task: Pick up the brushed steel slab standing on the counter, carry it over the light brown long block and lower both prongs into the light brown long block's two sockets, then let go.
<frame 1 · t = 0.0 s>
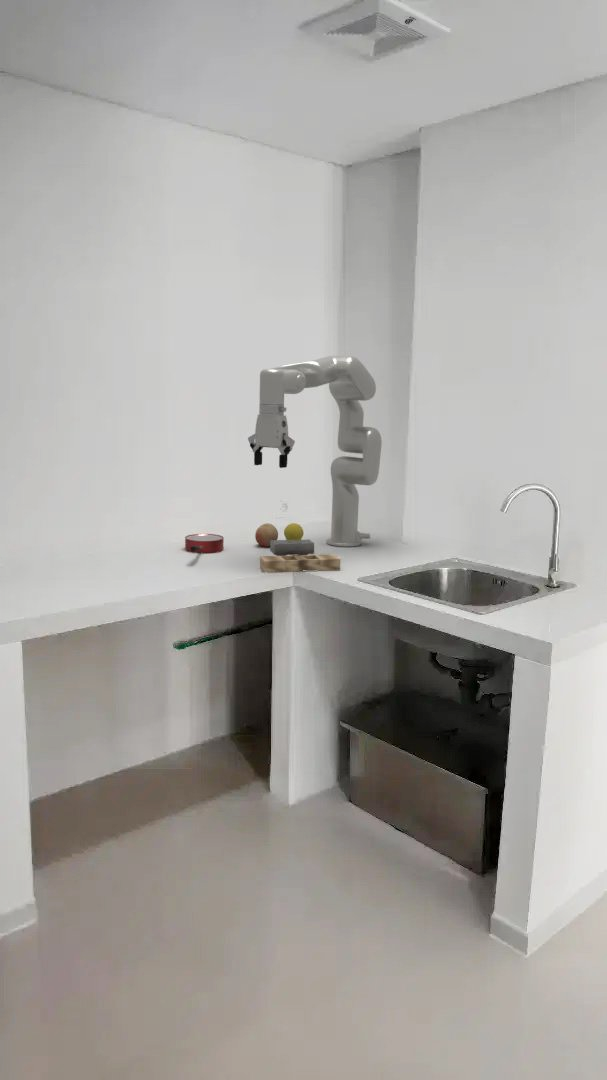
hand: (270, 466, 246), 31 cm above the worktop, tool pointing down, fingers open, 9 cm apart
light bulb: (293, 552, 272), on the worktop
fruit: (266, 546, 280), on the worktop
frying pan: (203, 556, 263), on the worktop
brushed steel slab: (291, 561, 257), on the worktop
light brown long block: (299, 568, 247), on the worktop
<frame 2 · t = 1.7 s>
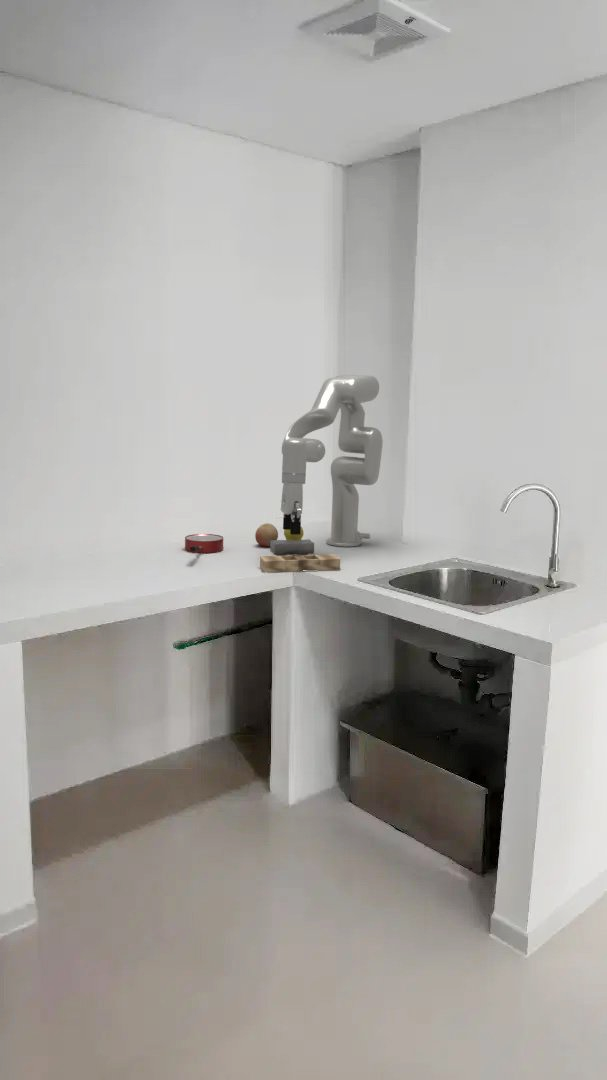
hand: (291, 531, 255), 10 cm above the worktop, tool pointing down, fingers open, 9 cm apart
nothing on the worktop moved.
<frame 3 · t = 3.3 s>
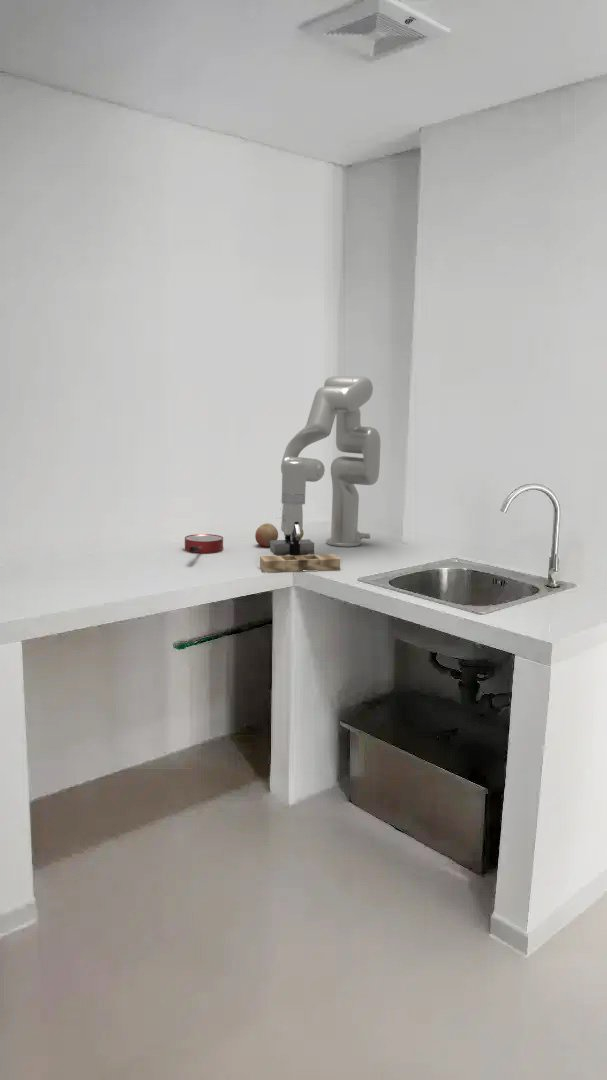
hand: (291, 553, 257), 3 cm above the worktop, tool pointing down, fingers closed on brushed steel slab, 6 cm apart
brushed steel slab: (291, 561, 257), on the worktop, touching gripper
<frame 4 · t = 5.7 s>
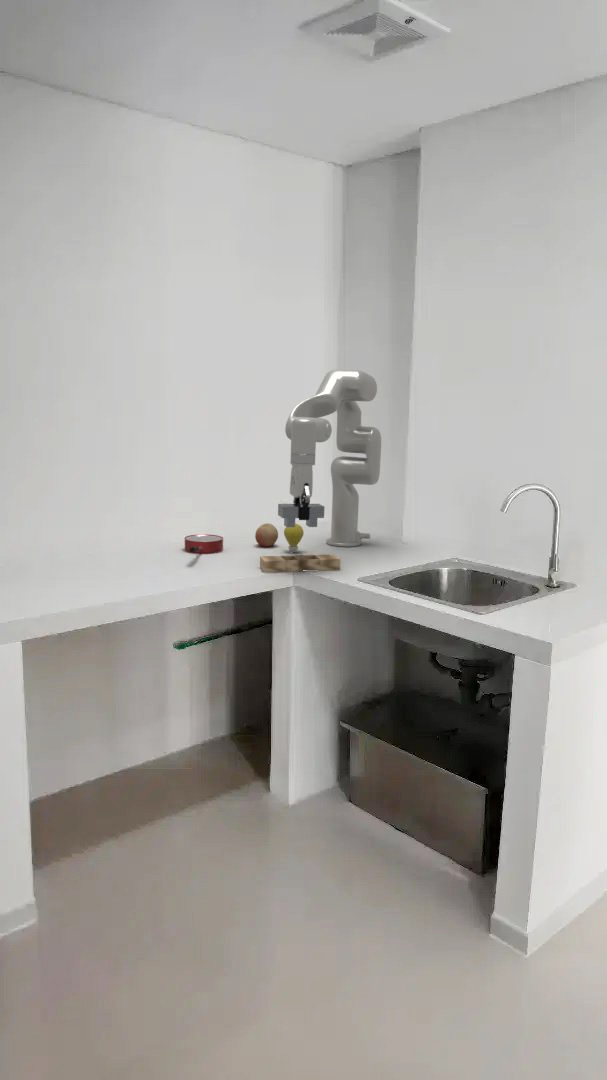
hand: (301, 517, 244), 16 cm above the worktop, tool pointing down, fingers closed on brushed steel slab, 6 cm apart
brushed steel slab: (300, 526, 245), point 14 cm above the worktop, touching gripper
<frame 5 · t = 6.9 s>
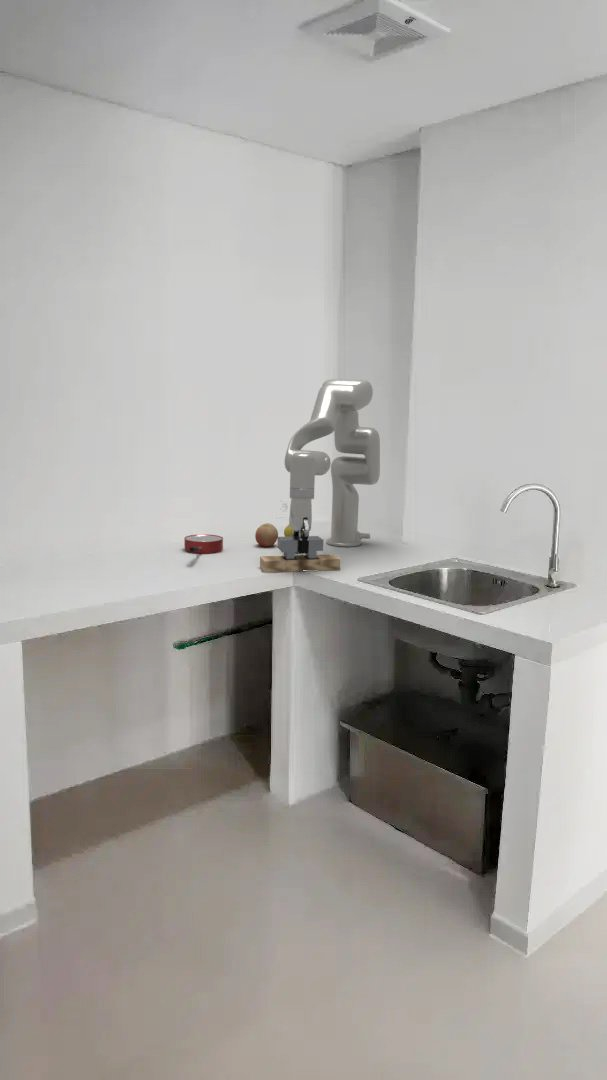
hand: (300, 550, 246), 6 cm above the worktop, tool pointing down, fingers closed on brushed steel slab, 6 cm apart
brushed steel slab: (299, 558, 247), point 3 cm above the worktop, touching gripper
when the fingers open (4 cm above the worktop, at t = 8.0 s): brushed steel slab drops 1 cm, resting on light brown long block.
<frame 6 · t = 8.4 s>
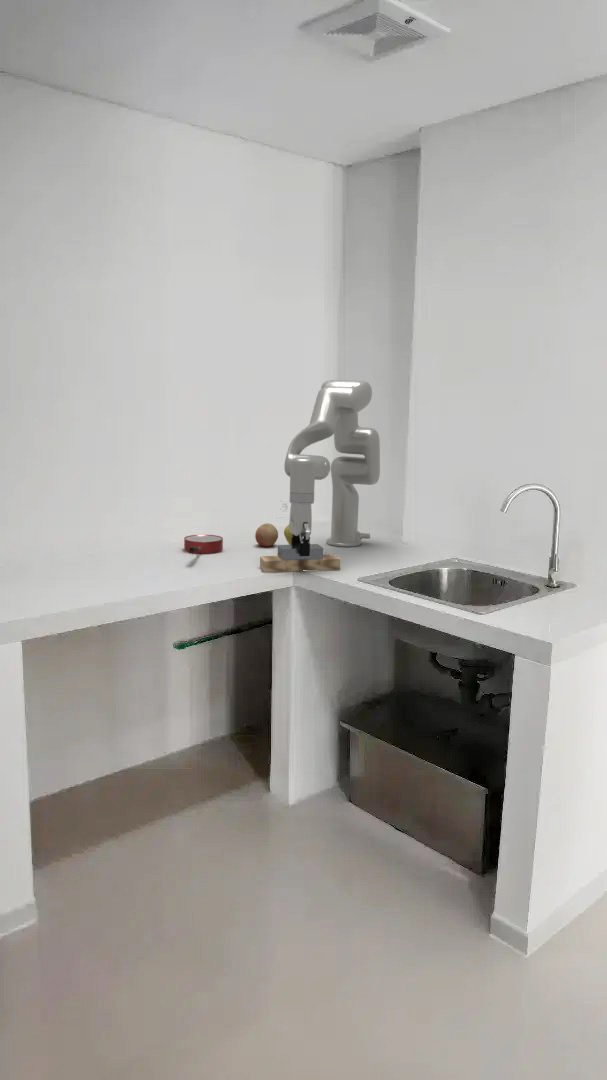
hand: (300, 552, 246), 5 cm above the worktop, tool pointing down, fingers open, 9 cm apart
brushed steel slab: (299, 567, 247), resting on light brown long block
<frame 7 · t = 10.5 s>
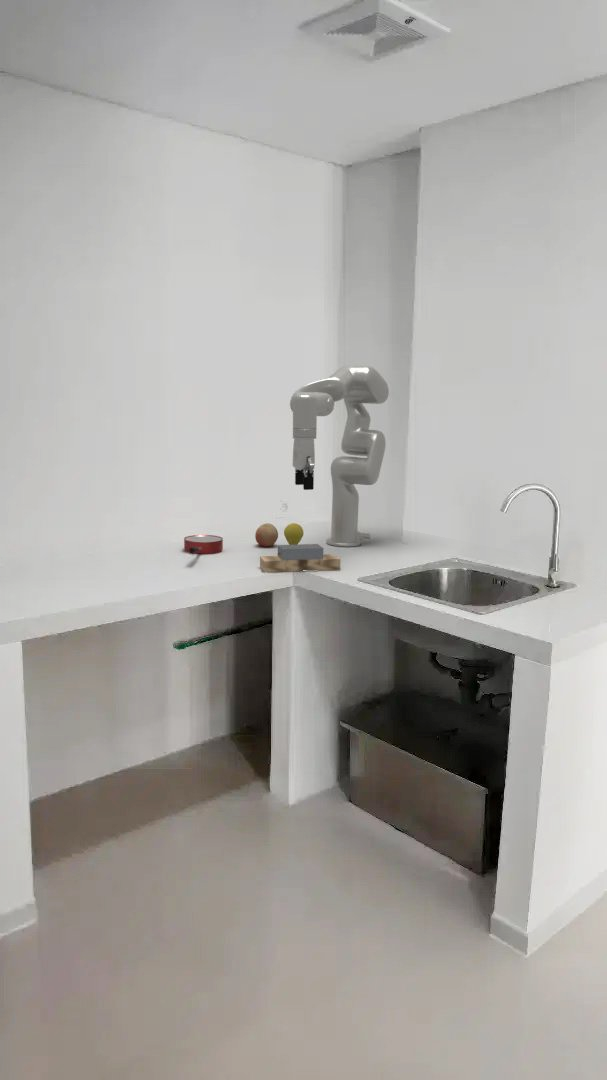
hand: (304, 487, 255), 24 cm above the worktop, tool pointing down, fingers open, 9 cm apart
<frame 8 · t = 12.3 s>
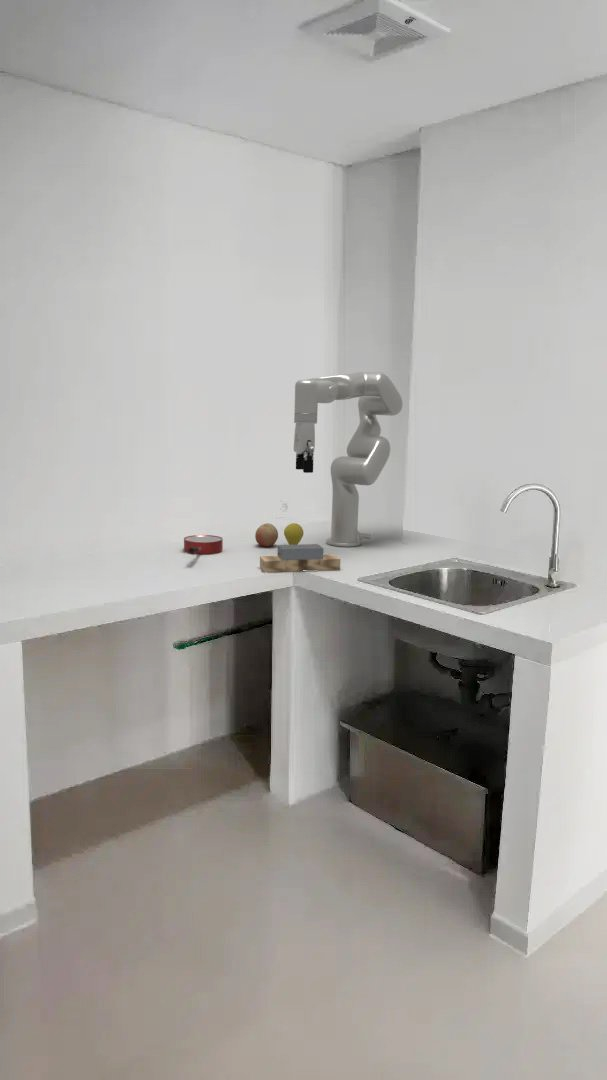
hand: (304, 470, 263), 28 cm above the worktop, tool pointing down, fingers open, 9 cm apart
at the end: brushed steel slab 0.1 cm off-centre on the light brown long block, point 0.5 cm above the light brown long block's base; brushed steel slab tilted 0°; the gripper is holding nothing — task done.
